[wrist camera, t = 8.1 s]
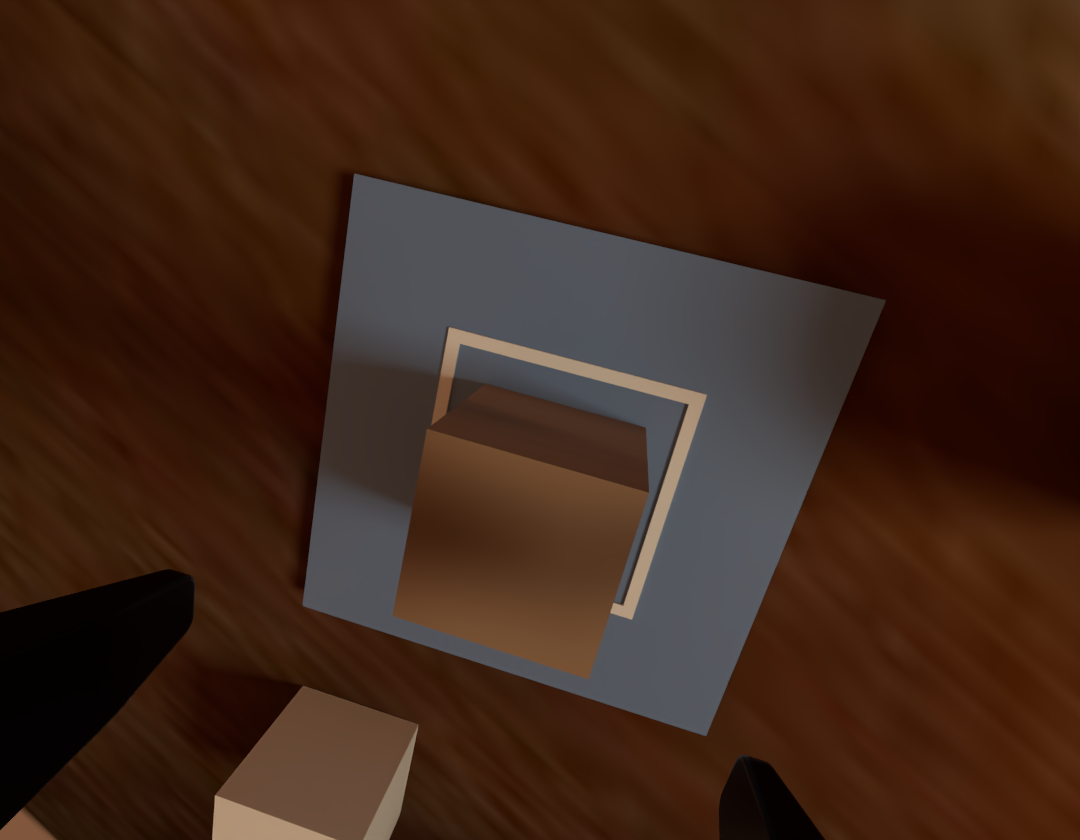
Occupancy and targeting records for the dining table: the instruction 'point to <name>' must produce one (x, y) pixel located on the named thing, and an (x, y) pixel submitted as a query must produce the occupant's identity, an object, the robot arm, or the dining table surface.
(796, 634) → the dining table surface
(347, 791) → the cream block
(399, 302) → the board
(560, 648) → the walnut block
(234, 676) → the dining table surface
